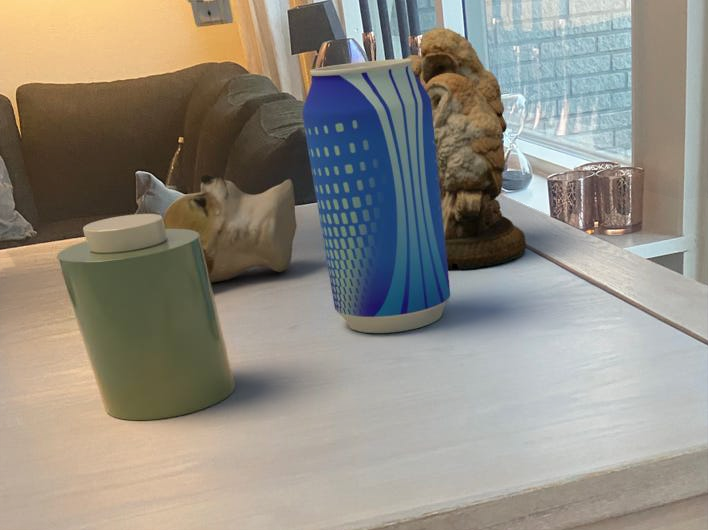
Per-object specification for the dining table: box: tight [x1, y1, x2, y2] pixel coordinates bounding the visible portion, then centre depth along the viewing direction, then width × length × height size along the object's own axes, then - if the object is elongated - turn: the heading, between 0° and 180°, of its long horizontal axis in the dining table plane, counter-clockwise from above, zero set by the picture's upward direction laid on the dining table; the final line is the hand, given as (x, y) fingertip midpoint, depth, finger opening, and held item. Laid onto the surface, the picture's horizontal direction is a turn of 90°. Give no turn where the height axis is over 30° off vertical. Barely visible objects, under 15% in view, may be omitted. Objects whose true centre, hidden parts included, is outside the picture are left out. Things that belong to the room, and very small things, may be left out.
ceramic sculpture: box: [163, 174, 298, 283], centre depth 83 cm, size 11×9×15 cm
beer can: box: [302, 58, 451, 334], centre depth 65 cm, size 8×8×16 cm
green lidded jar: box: [56, 213, 236, 421], centre depth 57 cm, size 8×8×10 cm
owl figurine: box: [405, 27, 527, 270], centre depth 82 cm, size 18×12×17 cm, turn 28°
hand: (215, 25), depth 84 cm, fingers closed
